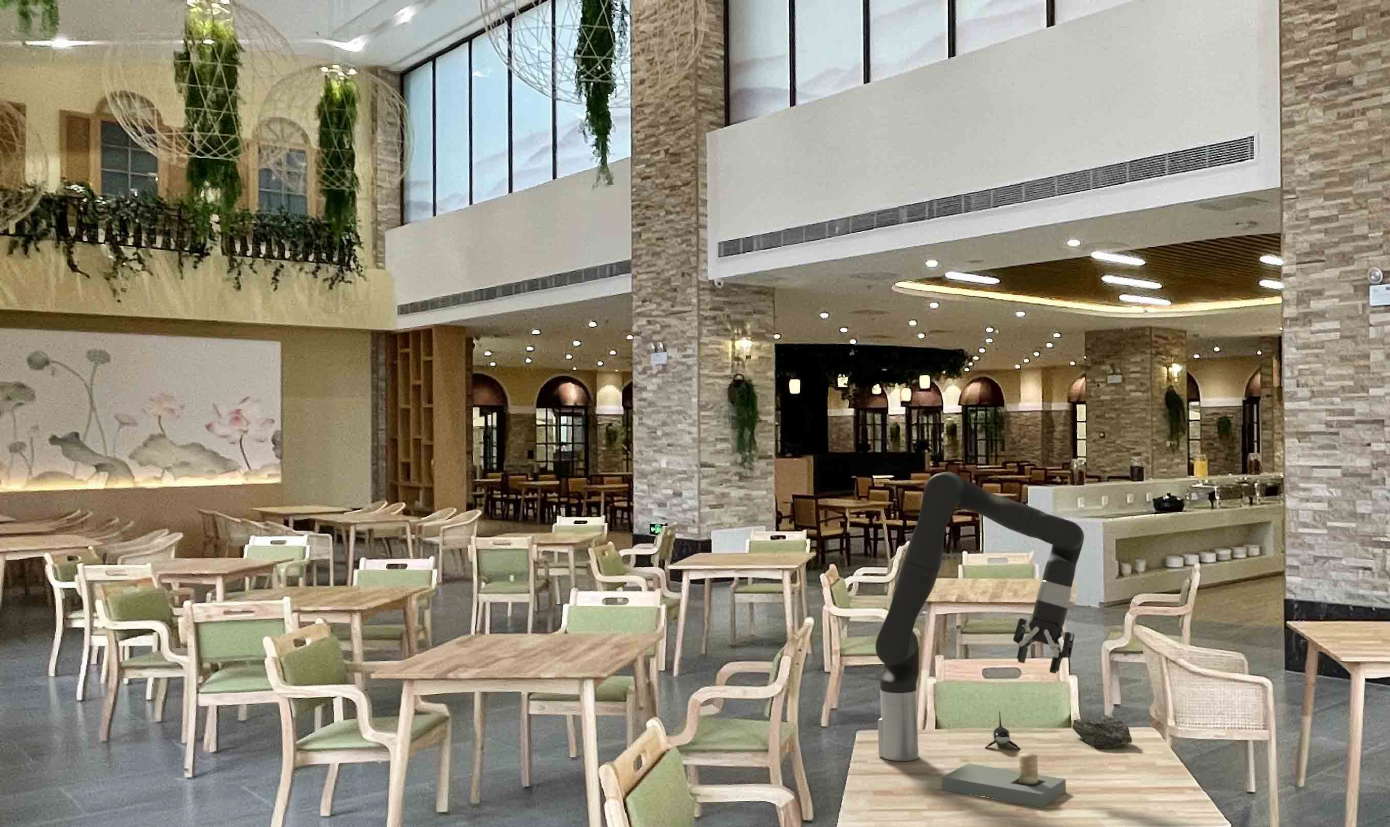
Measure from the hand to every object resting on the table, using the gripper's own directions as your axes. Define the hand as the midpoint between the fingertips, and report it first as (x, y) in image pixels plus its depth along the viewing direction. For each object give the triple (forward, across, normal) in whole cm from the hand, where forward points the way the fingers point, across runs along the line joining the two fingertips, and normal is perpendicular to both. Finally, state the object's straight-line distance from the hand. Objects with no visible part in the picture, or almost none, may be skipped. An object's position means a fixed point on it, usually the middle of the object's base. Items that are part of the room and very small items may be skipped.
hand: (1036, 667), depth 286 cm
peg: (+27, +11, -10) cm, 31 cm away
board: (+28, +5, -11) cm, 31 cm away
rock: (+17, 0, +44) cm, 48 cm away
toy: (+25, -19, +27) cm, 41 cm away
